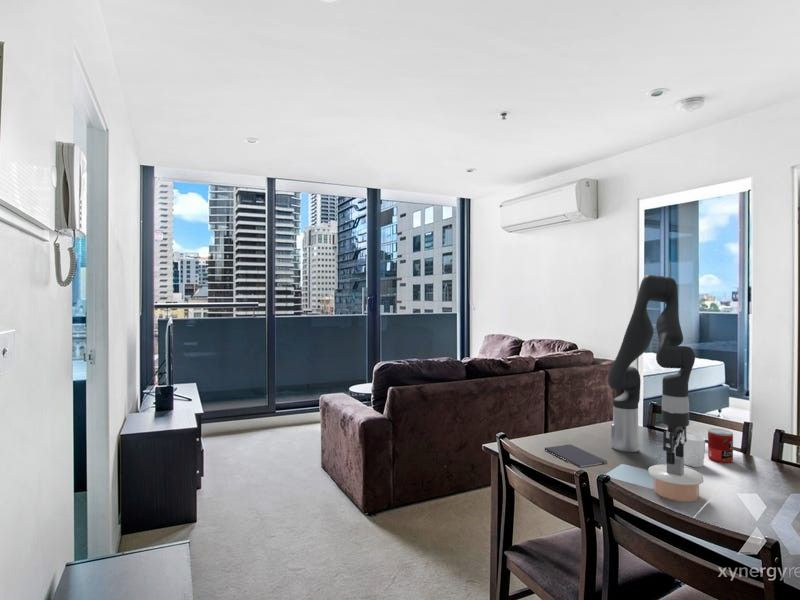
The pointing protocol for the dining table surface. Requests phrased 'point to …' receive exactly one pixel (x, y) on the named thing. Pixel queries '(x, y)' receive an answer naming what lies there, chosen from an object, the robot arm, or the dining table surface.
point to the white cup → (694, 450)
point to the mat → (632, 475)
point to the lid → (676, 473)
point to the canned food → (720, 445)
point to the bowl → (676, 490)
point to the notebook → (576, 455)
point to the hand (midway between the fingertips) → (675, 460)
